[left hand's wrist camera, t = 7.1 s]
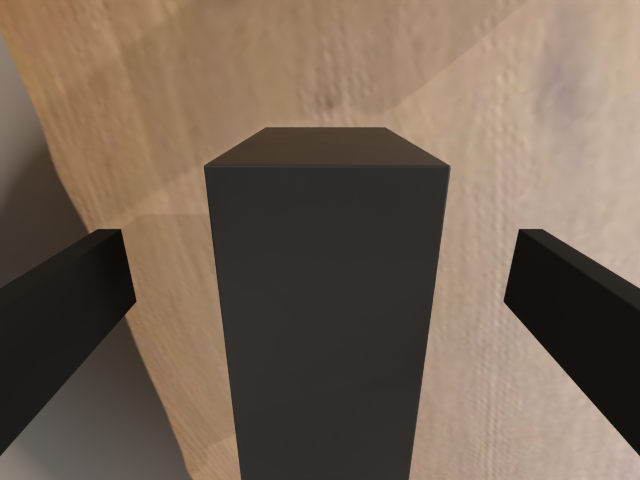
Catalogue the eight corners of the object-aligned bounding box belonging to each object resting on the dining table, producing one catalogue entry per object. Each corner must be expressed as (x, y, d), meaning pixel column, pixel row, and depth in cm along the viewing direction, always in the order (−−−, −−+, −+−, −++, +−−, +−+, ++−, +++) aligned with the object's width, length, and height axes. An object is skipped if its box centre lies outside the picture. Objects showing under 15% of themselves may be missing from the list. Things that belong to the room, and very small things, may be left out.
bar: (265, 127, 17) (203, 165, 8) (386, 127, 17) (451, 165, 8) (283, 474, 26) (263, 668, 17) (363, 475, 25) (383, 670, 17)
